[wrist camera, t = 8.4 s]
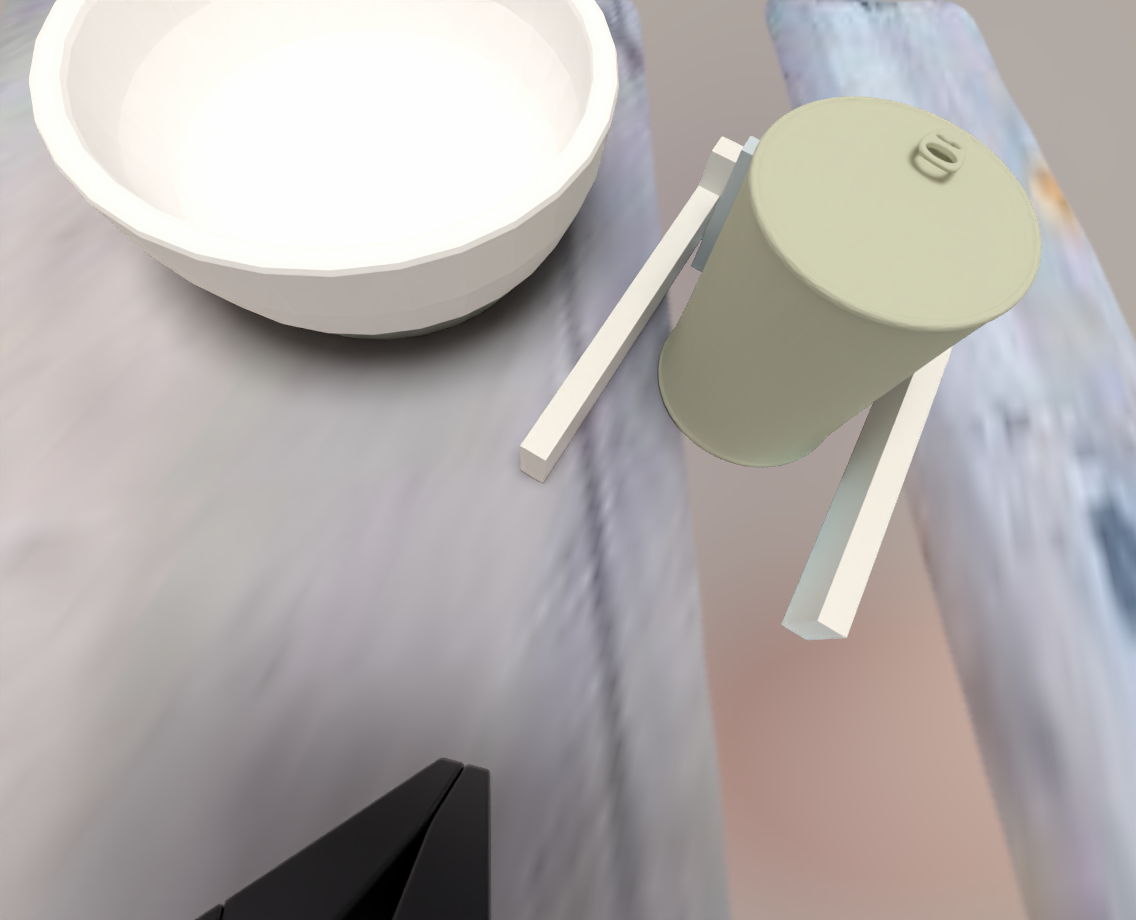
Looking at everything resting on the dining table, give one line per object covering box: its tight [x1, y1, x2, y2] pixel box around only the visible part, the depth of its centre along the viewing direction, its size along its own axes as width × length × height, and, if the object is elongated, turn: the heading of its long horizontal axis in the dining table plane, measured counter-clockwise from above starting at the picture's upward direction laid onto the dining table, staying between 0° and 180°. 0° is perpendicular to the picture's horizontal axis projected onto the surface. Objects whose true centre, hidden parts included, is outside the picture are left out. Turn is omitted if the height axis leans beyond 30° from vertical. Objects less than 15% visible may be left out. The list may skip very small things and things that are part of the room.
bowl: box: [29, 0, 619, 340], centre depth 25 cm, size 22×22×8 cm
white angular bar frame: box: [520, 136, 953, 640], centre depth 24 cm, size 18×14×5 cm
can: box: [658, 96, 1042, 467], centre depth 21 cm, size 9×9×12 cm
